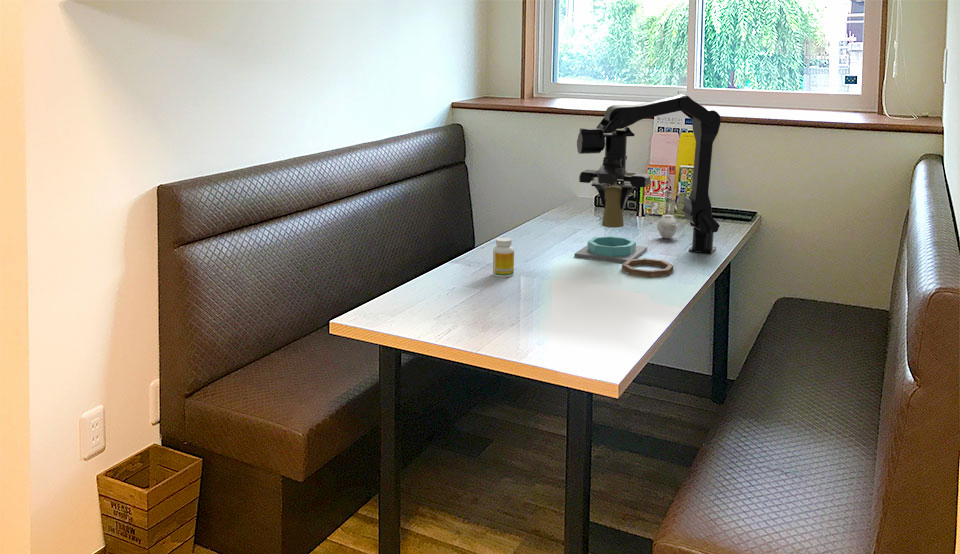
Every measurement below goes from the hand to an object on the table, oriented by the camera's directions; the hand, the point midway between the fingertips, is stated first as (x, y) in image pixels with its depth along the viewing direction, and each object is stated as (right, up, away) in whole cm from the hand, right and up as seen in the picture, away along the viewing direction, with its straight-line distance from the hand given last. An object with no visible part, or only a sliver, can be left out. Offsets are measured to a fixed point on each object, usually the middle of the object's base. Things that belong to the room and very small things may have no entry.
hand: (613, 209), depth 249 cm
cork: (0, -5, +1) cm, 5 cm away
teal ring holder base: (0, -12, +4) cm, 13 cm away
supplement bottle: (-31, -19, -17) cm, 40 cm away
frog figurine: (+19, -7, +21) cm, 30 cm away
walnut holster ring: (+7, -17, -13) cm, 22 cm away
